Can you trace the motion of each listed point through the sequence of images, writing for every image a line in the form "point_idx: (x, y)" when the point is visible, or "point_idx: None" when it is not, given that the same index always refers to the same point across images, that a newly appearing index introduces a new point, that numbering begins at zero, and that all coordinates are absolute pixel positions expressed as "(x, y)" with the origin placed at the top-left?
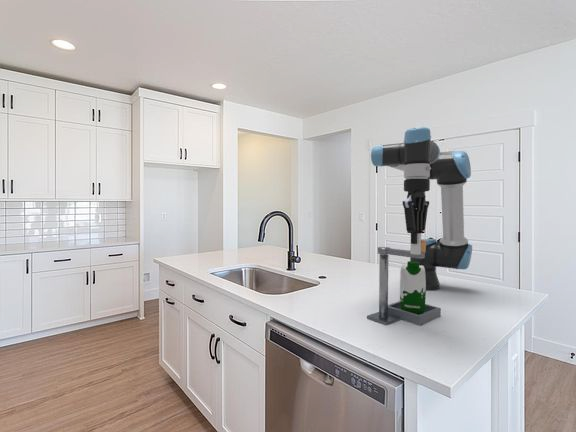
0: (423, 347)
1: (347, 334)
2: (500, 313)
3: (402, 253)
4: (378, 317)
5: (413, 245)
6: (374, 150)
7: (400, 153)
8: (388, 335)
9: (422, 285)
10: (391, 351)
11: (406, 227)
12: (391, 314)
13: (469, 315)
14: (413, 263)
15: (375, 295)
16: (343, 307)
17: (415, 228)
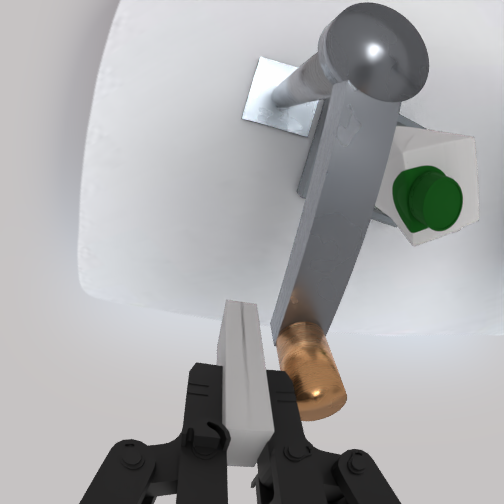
0: (168, 233)
1: (124, 73)
2: (439, 309)
3: (308, 215)
4: (267, 87)
5: (221, 359)
6: None
7: None
8: (179, 148)
9: (386, 214)
10: (108, 189)
11: (97, 472)
12: (323, 109)
13: (414, 269)
14: (421, 211)
15: (452, 44)
16: None
17: (149, 498)
